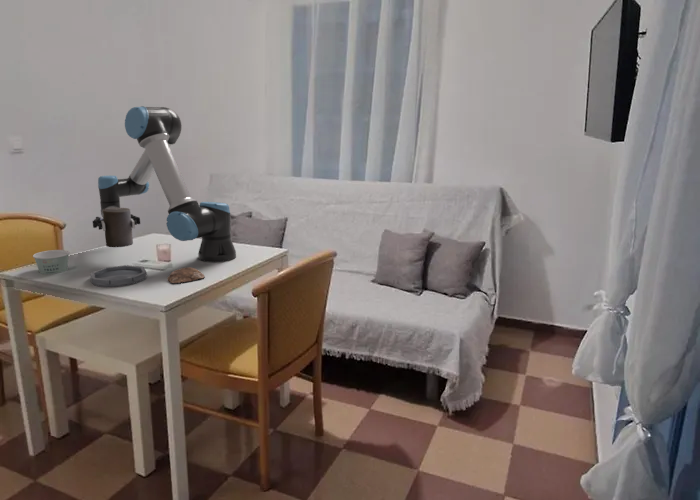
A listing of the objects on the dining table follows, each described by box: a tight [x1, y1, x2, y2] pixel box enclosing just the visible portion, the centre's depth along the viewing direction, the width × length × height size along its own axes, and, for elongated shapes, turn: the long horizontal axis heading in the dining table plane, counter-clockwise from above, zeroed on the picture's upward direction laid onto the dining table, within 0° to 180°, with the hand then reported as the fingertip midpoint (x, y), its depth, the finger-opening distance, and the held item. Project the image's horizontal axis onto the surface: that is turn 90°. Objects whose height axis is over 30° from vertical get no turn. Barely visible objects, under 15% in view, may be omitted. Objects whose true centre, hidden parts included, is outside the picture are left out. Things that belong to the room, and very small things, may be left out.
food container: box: [32, 249, 71, 275], centre depth 192 cm, size 12×12×6 cm
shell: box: [166, 266, 206, 285], centre depth 186 cm, size 12×13×4 cm
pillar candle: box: [102, 206, 134, 248], centre depth 197 cm, size 10×10×15 cm
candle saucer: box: [90, 264, 148, 288], centre depth 184 cm, size 18×18×2 cm
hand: (119, 226), depth 193 cm, fingers closed on pillar candle, 9 cm apart
